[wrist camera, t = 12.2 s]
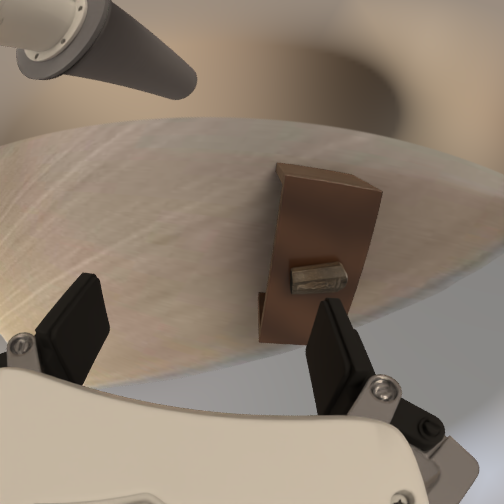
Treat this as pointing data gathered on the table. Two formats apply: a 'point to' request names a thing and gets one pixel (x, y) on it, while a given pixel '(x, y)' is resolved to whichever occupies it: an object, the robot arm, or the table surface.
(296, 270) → the block
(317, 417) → the robot arm
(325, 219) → the shelf
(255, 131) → the table surface
